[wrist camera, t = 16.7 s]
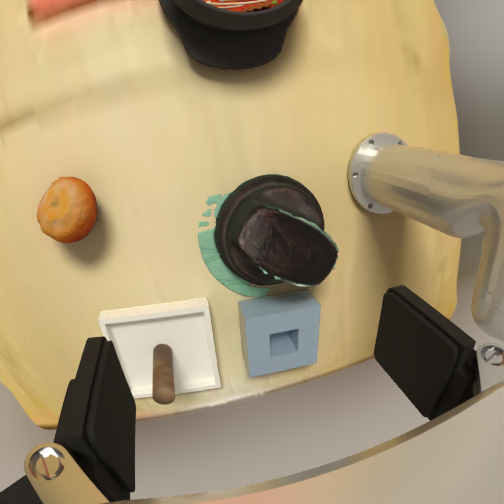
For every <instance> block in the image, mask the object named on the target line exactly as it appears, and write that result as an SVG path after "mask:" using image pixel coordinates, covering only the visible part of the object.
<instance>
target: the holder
mask: <svg viewBox="0 0 504 504" xmlns="http://www.w3.org/2000/svg"><path fill="white" fill-rule="evenodd" d="M238 307H239V318H240V329H241V340H242V351H243V359H244V362H245V365H246V368H247V371H248V374H249V376H250V377H255V376H260V375H265V374H270V373H275V372H279V371H284V370H288V369H293V368H297V367H301V366H305V365H309V364H313V363H317V352H318V338H319V323H320V307H321V305H320V304H319V303H318V301H317V300H316V299H315V298H314V297H313V295H312V294H311V293H310V292H309V291H308V290H302V291H297V292H291V293H286V294H280V295H274V296H268V297H262V298H256V299H250V300H244V301H238Z"/></svg>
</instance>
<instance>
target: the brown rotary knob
mask: <svg viewBox="0 0 504 504" xmlns="http://www.w3.org/2000/svg"><path fill="white" fill-rule="evenodd" d="M220 198H221V199H222V200H220ZM214 203H216V205H217V207H216V209H215V210H214V217H215V218H216V222H215V223H216V227H214V228H213V229H210V230H207V231H205V232H200V233H198V237H199V246H200V251H201V254H202V257H203V260H204V262H205V264H206V266H207V267H208V269H209V271H210V272H211V273H212V275H213V276H214V277H215V278H216V279H217V280H218V281H219V282H220V283H222V284H223V285H224V286H226V287H227V288H229V289H230V290H232V291H234V292H236V293H239V294H242V295H245V296H251V297H268V296H269V295H265V294H266V293H267V292H269V291H270V290H271V289H269V288H261V287H256V286H254V287H253V288H251V287H250V285H249V283H253V284H257V285H273V284H279V283H283V282H288V283H290V284H293V285H296V286H303V287H307V286H309V287H311V286H315V285H318V284H320V283H321V282H322V281H323V280H324V279H325V278H326V277H327V276H328V275H329V273H330V272H331V270H332V269H333V267H335V268H336V259H338V255H337V253H338V252H339V250H338V248H337V245H336V243H335V242H333V240H332V238H331V236H330V235H328V234H327V233H326V232H324V219H323V213H322V210H321V207H320V205H319V203H318V201H317V200H316V198H315V197H314V195H313V194H312V193H311V192H310V191H309V190H308V189H307V188H306V187H305V186H304V185H302V184H301V183H300V182H298V181H296V180H294V179H292V178H290V177H288V176H282V175H278V174H270V175H269V174H268V175H262V176H258V177H255V178H253V179H250V180H248V181H245V182H244V183H242V184H241V185H239V186H238V188H237V189H236V190H235V191H233V192H231V193H228V194H225V195H224V196H223V197H221V194H218V195H217V196H216V195H215V196H209V198H208V200H207V201H206V204H207V205H210V206H211V205H212V204H214ZM211 210H212V209H208V210H207V211H206V212H205V213H203V214H202V215H203V216H207V217H209V216H211V212H210V211H211ZM207 225H209V223H208V222H203V221H202V222H199V228H200V227H202V226H207ZM333 270H334V269H333Z"/></svg>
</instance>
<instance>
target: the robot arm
mask: <svg viewBox="0 0 504 504" xmlns="http://www.w3.org/2000/svg"><path fill="white" fill-rule="evenodd" d="M353 174H354V175H353ZM348 180H349V186H350V190H351V193H352V195H353V197H354V199H355V200H356V201H357V202H358V204H359V205H360V206H362V207H363V208H364V209H366V210H368V211H370V212H372V213H375V214H388V213H391V212H393V211H396V212H398V213H400V214H403V215H405V216H407V217H409V218H412V219H414V220H416V221H418V222H421V223H423V224H425V225H427V226H429V227H432V228H434V229H436V230H438V231H440V232H443V233H445V234H447V235H449V236H452V237H456V238H466V237H471V236H474V235H476V234H478V233H481V232H483V231H484V241H483V251H482V256H481V261H480V266H479V270H478V275H477V279H476V283H475V288H474V292H473V297H472V304H471V311H472V316H473V319H474V321H475V322H476V324H477V326H478V327H479V328H480V329H481V330H483V331H484V332H485V333H487V334H488V335H490V336H492V337H494V338H496V339H499V340H501V341H504V161H494V160H487V159H481V158H474V157H469V156H464V155H459V154H453V153H448V152H442V151H437V150H431V149H425V148H418V147H411V146H408V145H407V144H406V143H405V142H404V141H403V140H402V139H401V138H399V137H398V136H396V135H393V134H389V133H376V134H372V135H370V136H368V137H366V138H365V139H364V140H362V141H361V142H360V143H359V145H358V146H357V147H356V149H355V150H354V152H353V154H352V157H351V159H350V163H349V168H348ZM475 343H476V341H475V340H473V339H472V338H471V337H470V336H468V335H467V334H466V333H465V332H464V331H462V330H461V329H460V328H459V327H457V326H456V325H455V324H453V323H452V322H451V321H450V320H448V319H447V318H446V317H445V316H443V315H442V314H441V313H439V312H438V311H437V310H436V309H434V308H433V307H432V306H430V305H429V304H428V303H426V302H425V301H424V300H423V299H421V298H420V297H419V296H417V295H416V294H415V293H413V292H412V291H411V290H409V289H408V288H407V287H405V286H403V285H400V286H396V287H392V288H389V289H388V290H387V292H386V293H385V294H384V297H383V303H382V309H381V315H380V321H379V327H378V333H377V338H376V343H375V348H374V356H375V359H376V361H377V362H378V363H379V364H380V365H381V366H382V368H383V369H384V370H385V371H386V372H387V373H388V375H389V376H390V377H391V378H392V379H393V381H394V382H395V383H396V384H397V385H398V387H399V388H400V389H401V390H402V391H403V393H404V394H405V395H406V396H407V397H408V399H409V400H410V401H411V402H412V403H413V404H414V406H415V407H416V408H417V409H418V411H419V412H420V413H421V414H422V415H423V416H424V417H428V419H429V420H430V421H429V422H427V423H425V424H423V425H421V426H419V427H417V428H415V429H413V430H411V431H409V432H407V433H405V434H403V435H400V436H398V437H396V438H394V439H392V440H389V441H387V442H385V443H382V444H380V445H377V446H375V447H373V448H371V449H368V450H365V451H363V452H360V453H357V454H355V455H352V456H349V457H347V458H344V459H341V460H338V461H335V462H332V463H329V464H326V465H323V466H320V467H317V468H313V469H310V470H307V471H303V472H300V473H296V474H293V475H289V476H285V477H282V478H277V479H273V480H269V481H265V482H260V483H256V484H251V485H246V486H241V487H236V488H231V489H225V490H219V491H212V492H206V493H198V494H191V495H183V496H173V497H162V498H149V499H138V500H130V492H134V491H135V420H136V405H135V400H134V397H133V395H132V392H131V390H130V387H129V385H128V382H127V380H126V377H125V375H124V372H123V369H122V367H121V364H120V361H119V358H118V356H117V353H116V350H115V347H114V344H113V342H112V341H111V340H109V341H107V339H106V337H104V336H103V337H93V338H88V339H87V341H86V344H85V348H84V351H83V354H82V357H81V361H80V364H79V367H78V371H77V374H76V378H75V379H72V380H71V381H70V382H69V385H68V388H67V392H66V395H65V399H64V402H63V406H62V410H61V414H60V418H59V422H58V426H57V430H56V435H55V439H54V443H50V442H48V443H43V444H40V445H37V446H35V447H34V448H33V449H32V450H30V452H29V453H28V454H27V456H26V459H25V462H24V470H25V473H26V475H25V476H23V477H22V478H21V479H19V480H18V481H16V482H15V483H13V484H12V485H11V486H9V487H8V488H6V489H5V490H3V491H2V492H0V504H504V347H503V346H501V345H499V344H495V343H484V344H482V345H480V346H479V347H478V349H477V351H475V350H474V349H473V348H474V345H475Z"/></svg>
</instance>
